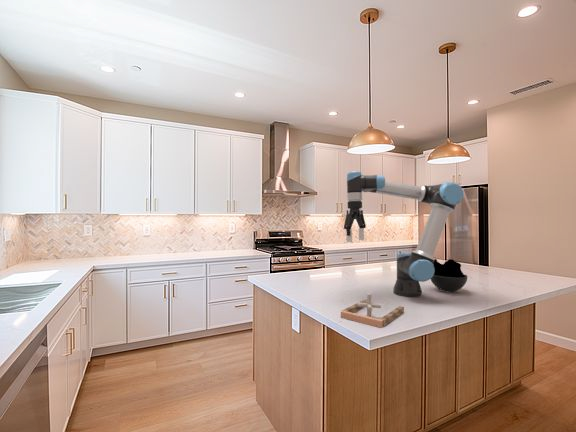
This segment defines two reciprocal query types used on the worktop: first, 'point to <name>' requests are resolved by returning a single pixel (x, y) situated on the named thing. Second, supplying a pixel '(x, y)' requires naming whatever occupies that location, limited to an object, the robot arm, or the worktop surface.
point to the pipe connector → (369, 305)
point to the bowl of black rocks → (448, 276)
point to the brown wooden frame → (386, 318)
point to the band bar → (362, 319)
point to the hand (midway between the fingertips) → (355, 241)
